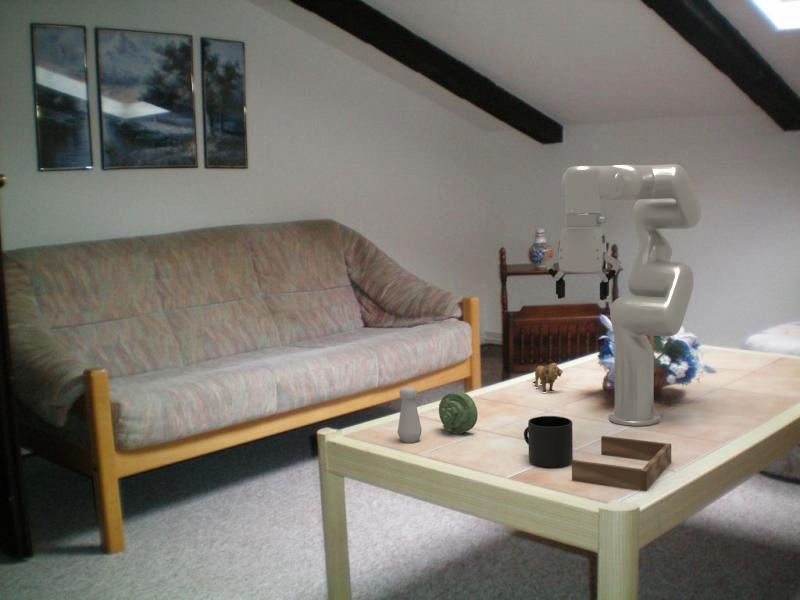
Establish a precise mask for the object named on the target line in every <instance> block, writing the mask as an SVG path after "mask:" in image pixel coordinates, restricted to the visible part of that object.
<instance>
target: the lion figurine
mask: <svg viewBox="0 0 800 600" xmlns="http://www.w3.org/2000/svg"><path fill="white" fill-rule="evenodd" d="M534 373H535V374H534V375H535V381H533V382H532V384H533V383H534V384H535V385H534V384H533V385H534V387H538V388H539V386H538V385H540V384H542V386H541V387H542V392H546V391H547V388H546V387H547V384H548V385H549V388H548V391H549V392H550V391H554V392H555V390H554V389H553V386H554V383H555V381H556V380H557V379H558V377H562V374H563V373H564V371H563V370H562V369H561V368H559V366H558V364H557V363H555V362H551V363H548V364H547V365H545V366H543V365H538V366H537V367H536V368H535V372H534ZM539 380H540V384H539Z"/></svg>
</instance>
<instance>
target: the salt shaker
mask: <svg viewBox="0 0 800 600" xmlns="http://www.w3.org/2000/svg"><path fill="white" fill-rule="evenodd" d="M417 389H418V388H417V387H414V386H405V387H401V388H400V390H399V397H400V398H401V405H400V406H401V407H400V412H399V413H400V414H399V420H398V426H397V434H398V437H399V439H400V440H401V442H402V441H403V443H406V444H412V443H413V442H414V443H417V442H419V441H420V438H421V435H422V433H423V431H422V425H421V421H420V415H419V412H418V411H419V410H418V407H417V402H416V398H417V397H418V390H417ZM416 441H417V442H416ZM414 443H413V444H414Z"/></svg>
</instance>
